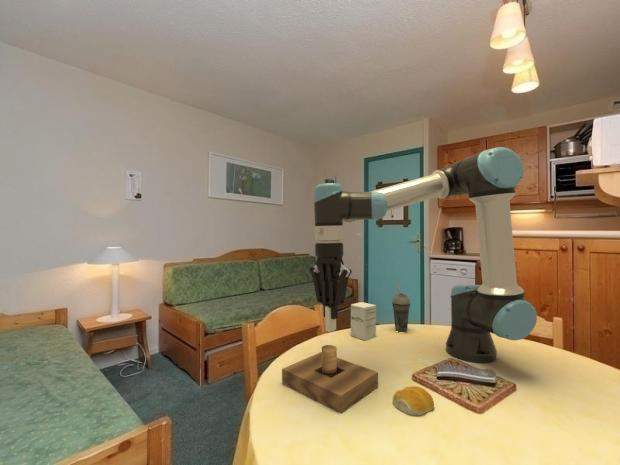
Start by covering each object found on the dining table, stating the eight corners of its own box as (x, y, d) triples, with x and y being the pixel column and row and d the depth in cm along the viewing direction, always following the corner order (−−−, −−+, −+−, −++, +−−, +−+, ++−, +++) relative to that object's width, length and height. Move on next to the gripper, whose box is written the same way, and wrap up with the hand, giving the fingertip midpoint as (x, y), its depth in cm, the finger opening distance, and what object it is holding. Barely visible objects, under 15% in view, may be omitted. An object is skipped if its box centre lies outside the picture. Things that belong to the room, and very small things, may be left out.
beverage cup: (411, 334, 122) (411, 284, 122) (392, 333, 123) (392, 284, 123) (409, 329, 129) (409, 281, 129) (391, 328, 130) (391, 281, 130)
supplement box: (350, 336, 120) (349, 304, 120) (362, 332, 125) (361, 301, 125) (364, 341, 114) (364, 307, 115) (376, 336, 119) (376, 304, 119)
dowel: (340, 385, 81) (340, 347, 81) (330, 390, 78) (330, 352, 78) (328, 379, 84) (328, 343, 84) (318, 385, 81) (318, 347, 81)
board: (378, 387, 80) (378, 372, 80) (340, 413, 68) (340, 395, 68) (321, 364, 94) (321, 351, 94) (282, 383, 82) (281, 368, 82)
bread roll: (440, 408, 71) (440, 390, 71) (415, 421, 66) (415, 402, 66) (410, 392, 78) (410, 376, 78) (386, 403, 73) (386, 386, 73)
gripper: (301, 242, 83) (303, 328, 83) (339, 242, 74) (341, 339, 74) (320, 241, 88) (321, 322, 88) (357, 241, 79) (359, 331, 79)
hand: (330, 330), depth 81 cm, fingers closed
